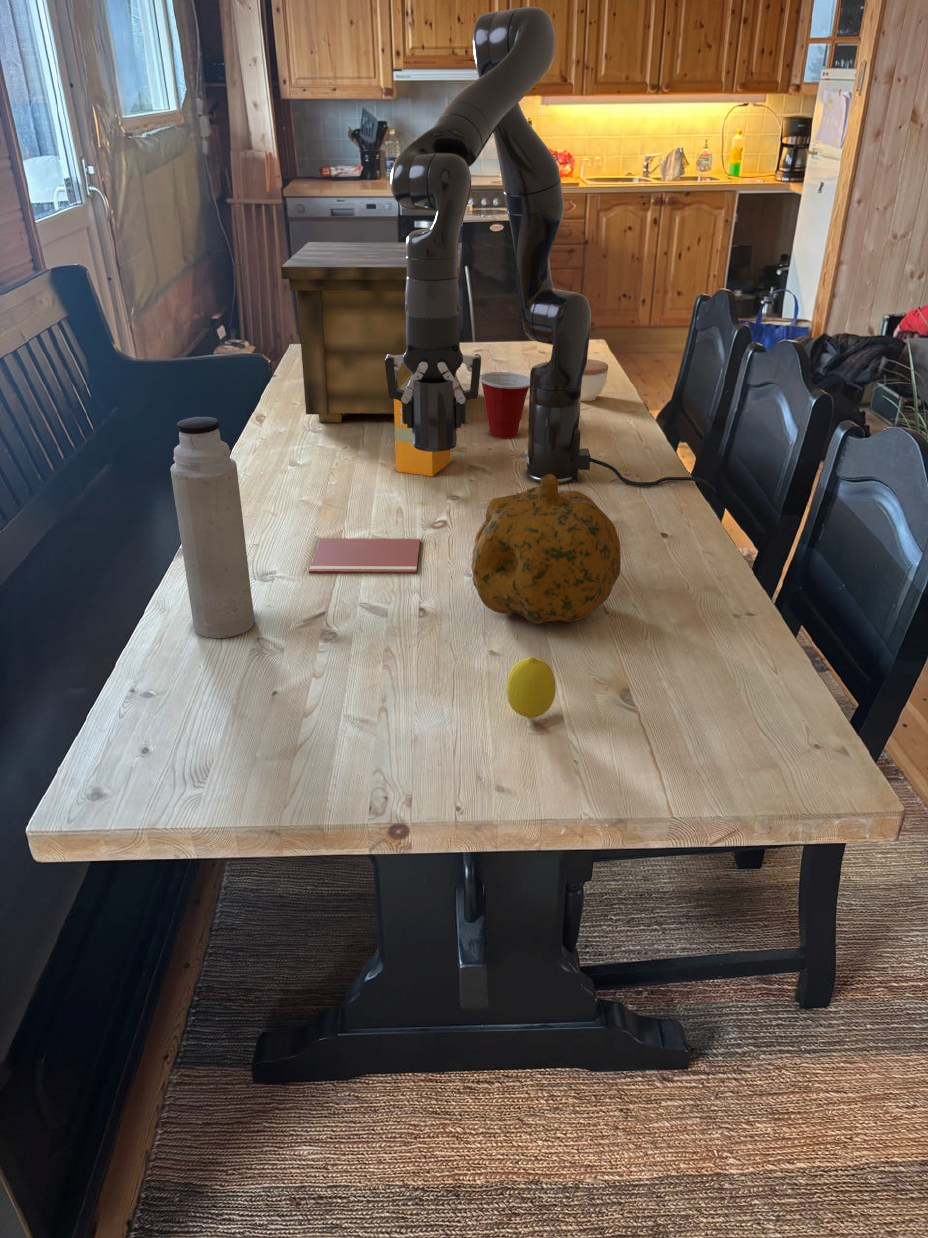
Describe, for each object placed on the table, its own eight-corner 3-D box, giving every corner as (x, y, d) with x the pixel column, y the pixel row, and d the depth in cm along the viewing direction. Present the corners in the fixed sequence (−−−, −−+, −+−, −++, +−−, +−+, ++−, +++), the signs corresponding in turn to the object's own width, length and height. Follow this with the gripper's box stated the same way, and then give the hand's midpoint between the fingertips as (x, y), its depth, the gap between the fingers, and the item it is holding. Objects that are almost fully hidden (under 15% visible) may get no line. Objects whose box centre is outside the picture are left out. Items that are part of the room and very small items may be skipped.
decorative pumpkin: (591, 560, 148) (597, 435, 137) (634, 637, 131) (646, 502, 119) (459, 574, 145) (454, 449, 134) (486, 656, 128) (483, 519, 117)
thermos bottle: (214, 606, 137) (187, 408, 123) (265, 615, 134) (243, 414, 121) (182, 632, 130) (150, 426, 117) (234, 642, 128) (208, 433, 114)
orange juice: (395, 471, 185) (391, 364, 176) (414, 456, 192) (412, 353, 183) (433, 476, 182) (431, 368, 173) (451, 461, 190) (451, 357, 180)
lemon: (502, 705, 115) (504, 646, 111) (549, 703, 115) (552, 644, 111) (508, 732, 110) (510, 671, 106) (557, 730, 110) (561, 669, 106)
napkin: (420, 540, 157) (420, 538, 156) (416, 573, 146) (416, 571, 146) (319, 540, 157) (319, 538, 156) (308, 572, 146) (308, 570, 146)
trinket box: (550, 397, 230) (552, 356, 225) (580, 388, 236) (583, 349, 232) (585, 406, 223) (587, 365, 218) (615, 398, 229) (618, 357, 225)
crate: (318, 384, 239) (308, 242, 224) (461, 385, 239) (461, 242, 223) (294, 428, 208) (281, 266, 193) (459, 429, 208) (459, 267, 192)
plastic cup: (526, 444, 199) (528, 385, 193) (474, 440, 201) (474, 382, 195) (534, 428, 209) (536, 371, 203) (484, 425, 210) (484, 369, 205)
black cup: (457, 438, 149) (456, 372, 144) (455, 451, 143) (455, 383, 138) (414, 437, 149) (412, 371, 144) (411, 451, 143) (409, 383, 138)
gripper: (484, 305, 140) (483, 419, 148) (383, 304, 140) (387, 419, 148) (484, 316, 133) (483, 435, 141) (378, 315, 133) (383, 434, 141)
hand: (434, 426), depth 145 cm, fingers closed on black cup, 6 cm apart
